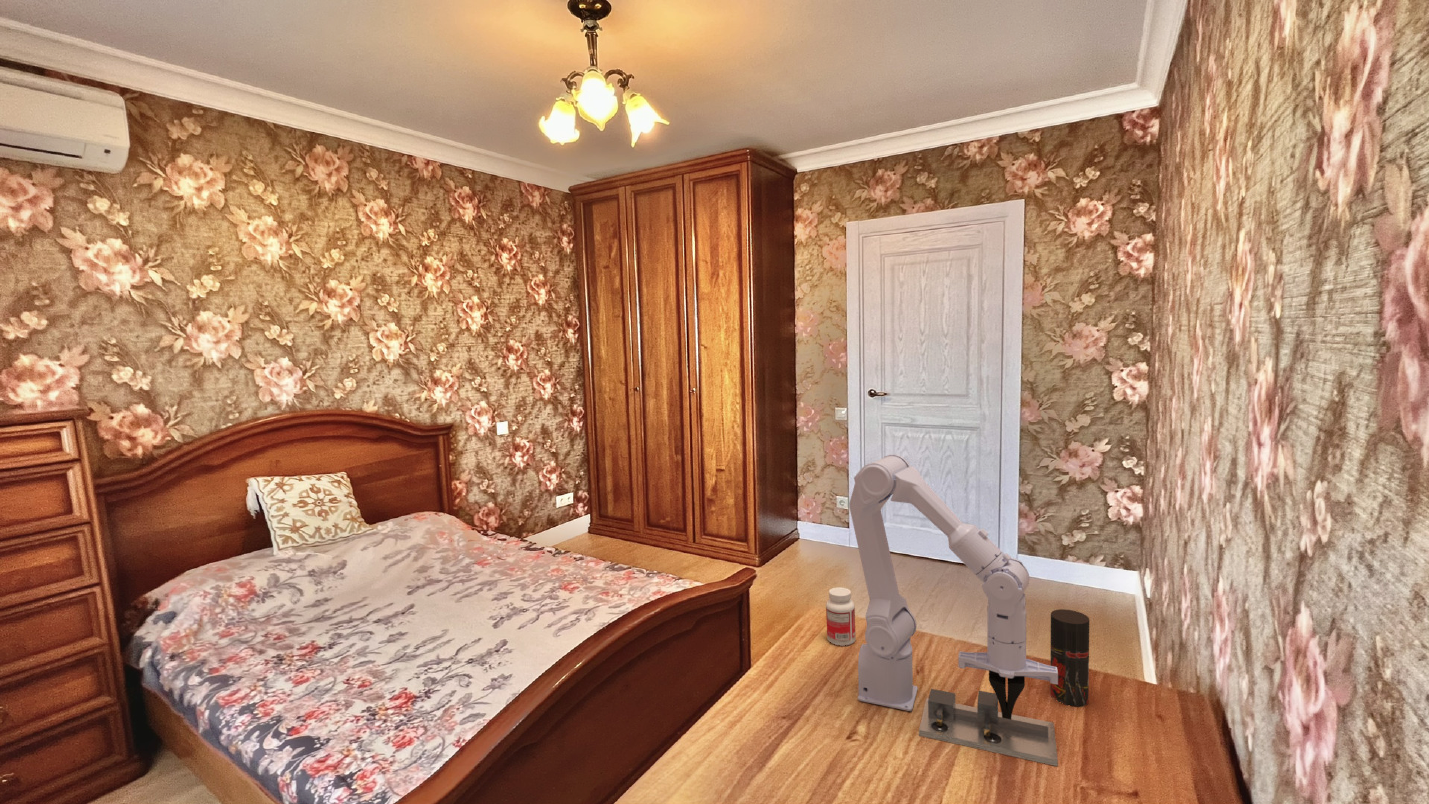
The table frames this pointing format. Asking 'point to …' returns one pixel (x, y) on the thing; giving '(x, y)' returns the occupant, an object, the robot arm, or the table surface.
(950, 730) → the hole plate
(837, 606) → the pill bottle
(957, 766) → the table surface
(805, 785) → the table surface
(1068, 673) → the deodorant
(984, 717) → the sliding leg
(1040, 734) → the beam
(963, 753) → the table surface
